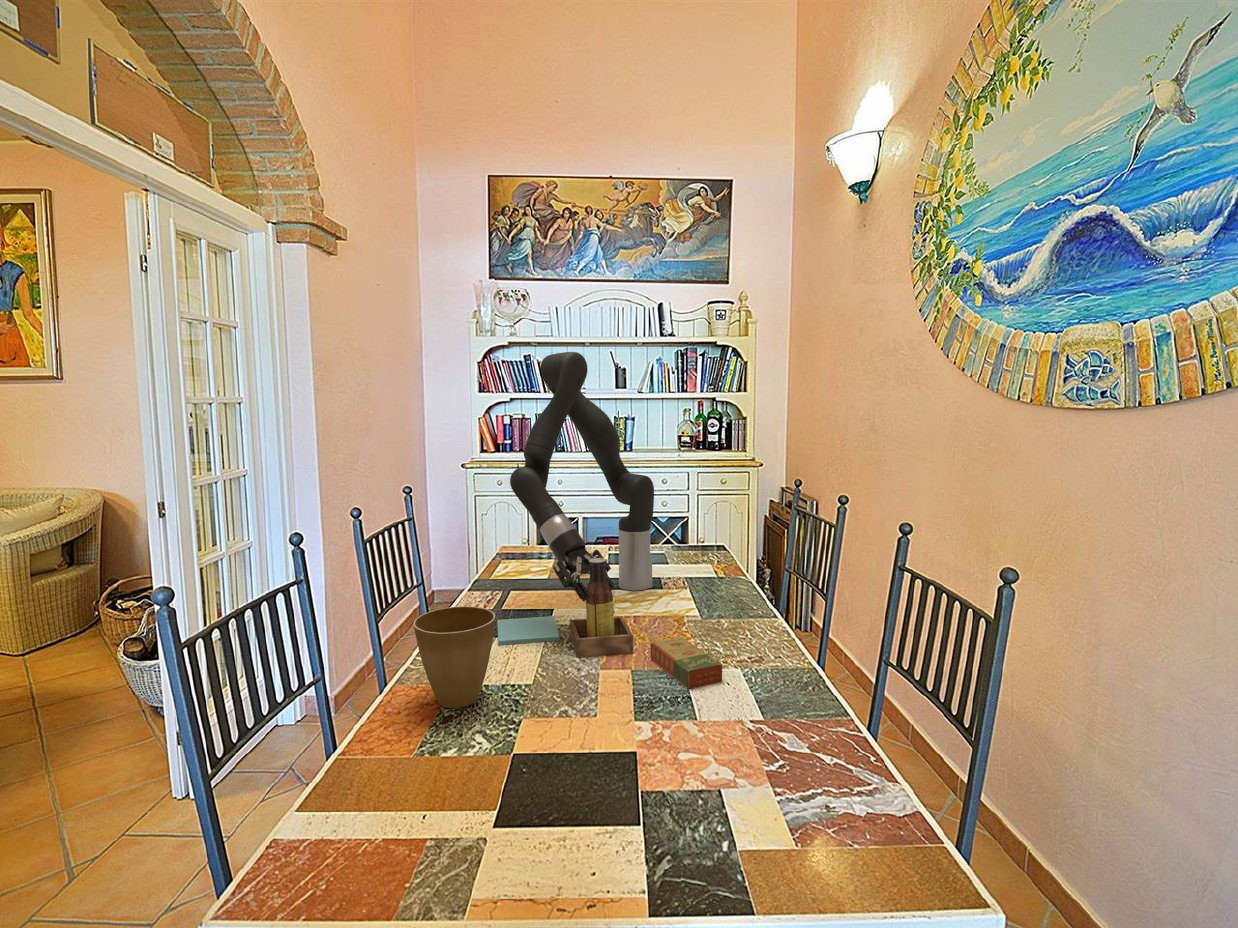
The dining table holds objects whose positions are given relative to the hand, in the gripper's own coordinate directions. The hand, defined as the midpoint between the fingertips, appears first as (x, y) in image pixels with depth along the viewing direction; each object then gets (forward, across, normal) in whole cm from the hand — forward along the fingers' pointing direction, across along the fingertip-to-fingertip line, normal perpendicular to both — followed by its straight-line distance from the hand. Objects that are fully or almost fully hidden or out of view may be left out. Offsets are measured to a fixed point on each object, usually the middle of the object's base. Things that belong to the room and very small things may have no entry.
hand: (599, 594), depth 152 cm
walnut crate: (+8, 0, +8) cm, 12 cm away
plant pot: (+6, -37, +11) cm, 39 cm away
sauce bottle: (+8, 0, +8) cm, 12 cm away
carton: (+25, +1, -7) cm, 26 cm away
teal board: (-5, -5, +22) cm, 23 cm away
